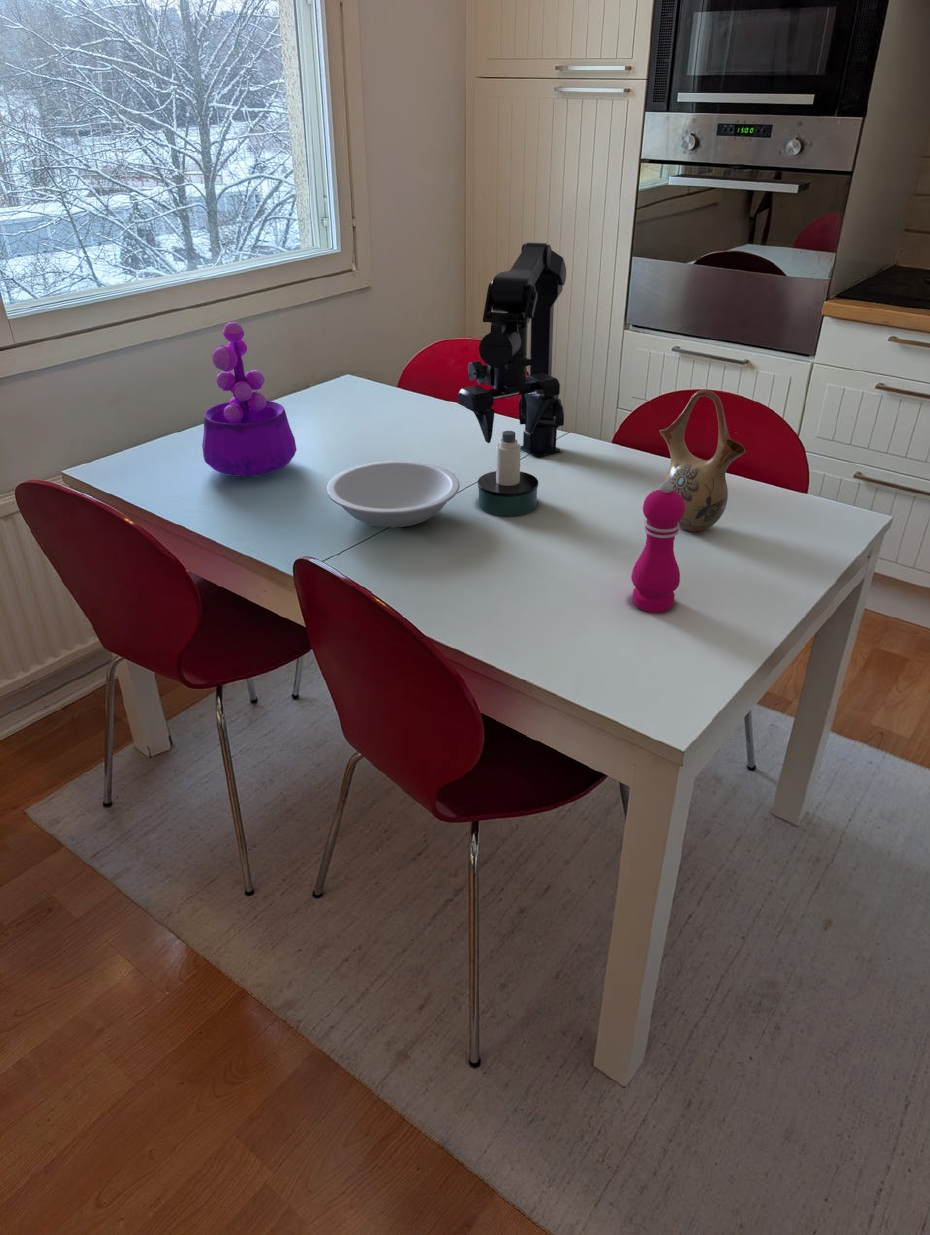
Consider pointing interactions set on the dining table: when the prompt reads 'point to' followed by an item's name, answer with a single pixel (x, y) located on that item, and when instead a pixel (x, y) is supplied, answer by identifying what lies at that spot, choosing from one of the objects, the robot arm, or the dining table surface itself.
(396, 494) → the soup bowl
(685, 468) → the ceramic vessel
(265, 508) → the dining table surface
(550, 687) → the dining table surface
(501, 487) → the enamel tin
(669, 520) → the pepper mill
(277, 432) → the decorative plant
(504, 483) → the bottle
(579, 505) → the dining table surface
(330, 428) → the dining table surface
